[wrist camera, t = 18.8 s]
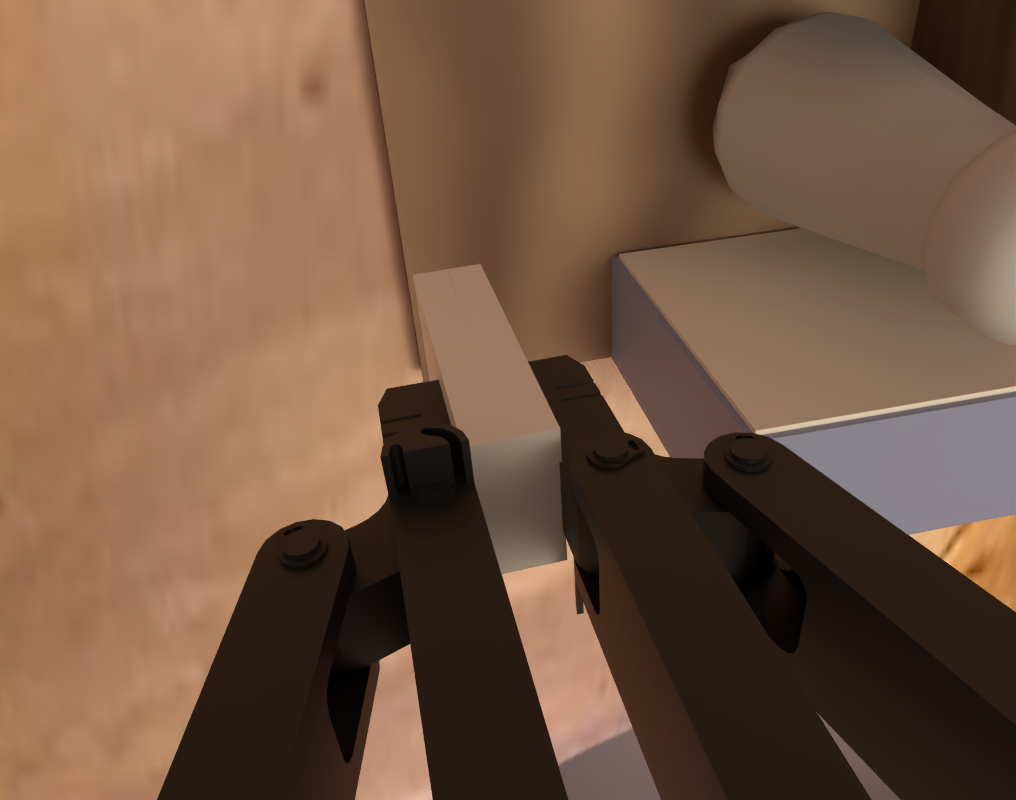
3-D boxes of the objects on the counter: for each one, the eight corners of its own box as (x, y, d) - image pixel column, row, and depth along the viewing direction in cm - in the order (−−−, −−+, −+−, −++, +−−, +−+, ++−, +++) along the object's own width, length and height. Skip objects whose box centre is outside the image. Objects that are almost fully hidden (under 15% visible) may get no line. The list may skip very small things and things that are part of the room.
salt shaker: (858, -25, 23) (1300, 46, 13) (864, 157, 27) (1219, 337, 16) (673, 42, 24) (956, 169, 13) (701, 216, 27) (945, 433, 16)
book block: (611, 356, 29) (735, 567, 20) (611, 252, 27) (751, 437, 18) (857, 318, 30) (1080, 501, 21) (878, 214, 28) (1137, 370, 19)
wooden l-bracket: (421, 369, 29) (454, 561, 21) (340, -152, 21) (342, -181, 12) (869, 300, 31) (1063, 450, 23) (971, -202, 23) (1349, -258, 14)
